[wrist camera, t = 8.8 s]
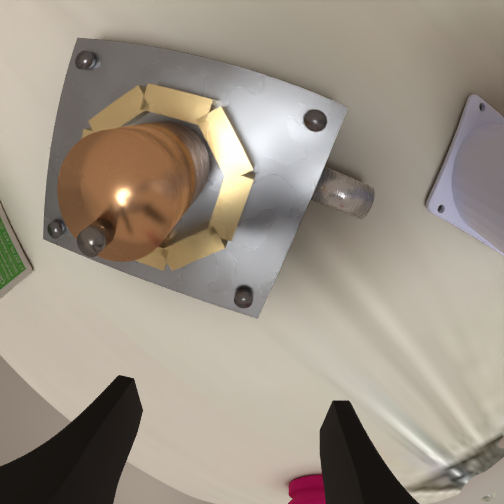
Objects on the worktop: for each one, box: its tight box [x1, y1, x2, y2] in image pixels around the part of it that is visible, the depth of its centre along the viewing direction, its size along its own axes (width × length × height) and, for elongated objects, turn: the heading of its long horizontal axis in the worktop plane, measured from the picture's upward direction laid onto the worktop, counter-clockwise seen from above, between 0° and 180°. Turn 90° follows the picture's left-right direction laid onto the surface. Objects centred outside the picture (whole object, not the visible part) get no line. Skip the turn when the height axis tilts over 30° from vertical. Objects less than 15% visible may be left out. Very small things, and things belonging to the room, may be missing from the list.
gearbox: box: [43, 38, 374, 319], centre depth 15 cm, size 17×12×4 cm
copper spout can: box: [57, 121, 210, 262], centre depth 11 cm, size 4×4×7 cm
